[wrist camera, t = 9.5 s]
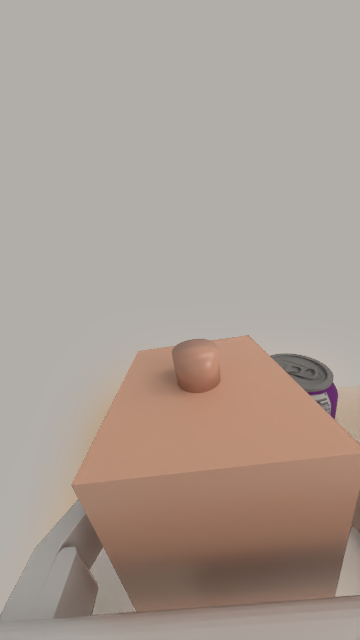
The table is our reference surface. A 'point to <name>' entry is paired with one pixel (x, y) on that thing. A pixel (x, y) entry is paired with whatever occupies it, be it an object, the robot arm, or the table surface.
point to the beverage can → (311, 379)
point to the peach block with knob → (219, 481)
